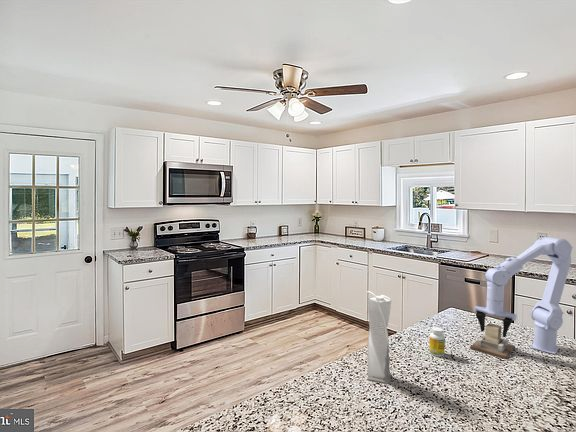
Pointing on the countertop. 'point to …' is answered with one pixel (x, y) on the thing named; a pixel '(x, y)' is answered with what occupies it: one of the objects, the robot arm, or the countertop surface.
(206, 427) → the countertop surface
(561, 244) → the robot arm
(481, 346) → the socket board
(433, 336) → the supplement bottle
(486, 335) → the birch peg
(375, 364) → the skyscraper
